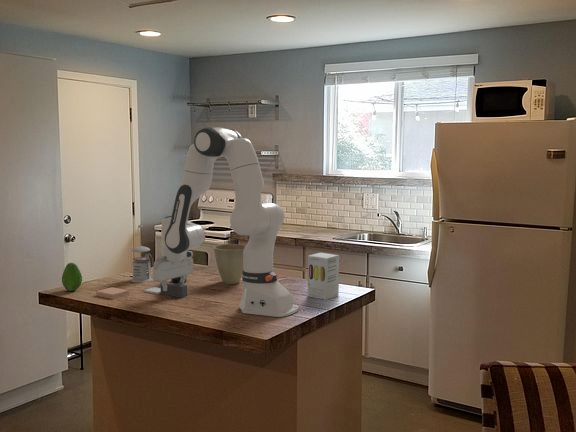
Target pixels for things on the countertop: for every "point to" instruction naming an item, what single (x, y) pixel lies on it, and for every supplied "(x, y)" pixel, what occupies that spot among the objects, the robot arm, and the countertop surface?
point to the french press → (141, 264)
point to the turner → (170, 290)
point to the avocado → (71, 277)
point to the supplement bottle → (177, 279)
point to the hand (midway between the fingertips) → (173, 288)
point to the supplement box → (323, 276)
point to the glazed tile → (112, 293)
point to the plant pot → (229, 262)
